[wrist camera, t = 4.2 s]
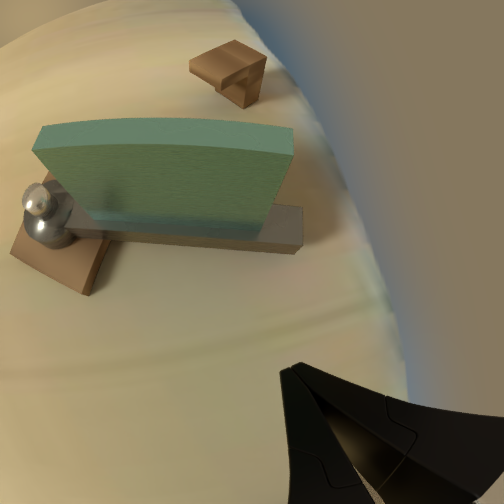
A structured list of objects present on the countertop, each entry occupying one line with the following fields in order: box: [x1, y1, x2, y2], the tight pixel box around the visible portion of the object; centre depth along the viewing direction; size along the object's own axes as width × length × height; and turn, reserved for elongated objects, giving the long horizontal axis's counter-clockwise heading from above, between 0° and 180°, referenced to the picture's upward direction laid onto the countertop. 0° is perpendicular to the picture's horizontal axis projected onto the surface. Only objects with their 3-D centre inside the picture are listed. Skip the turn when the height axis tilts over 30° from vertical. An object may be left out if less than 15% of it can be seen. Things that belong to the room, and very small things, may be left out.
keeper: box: [189, 40, 267, 109], centre depth 20 cm, size 5×4×5 cm
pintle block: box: [10, 171, 111, 296], centre depth 18 cm, size 8×8×1 cm
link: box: [22, 118, 303, 255], centre depth 13 cm, size 19×4×10 cm, turn 87°
